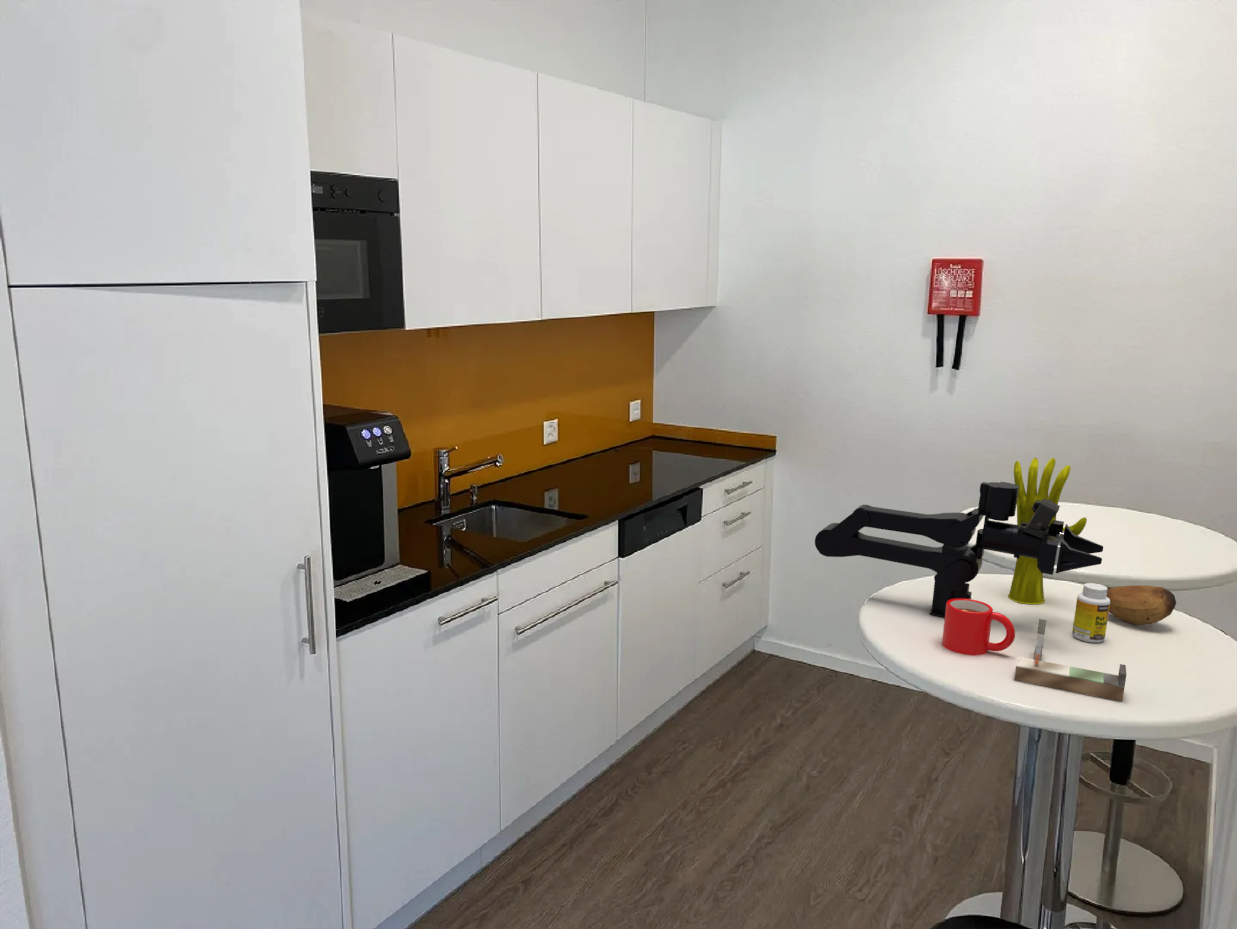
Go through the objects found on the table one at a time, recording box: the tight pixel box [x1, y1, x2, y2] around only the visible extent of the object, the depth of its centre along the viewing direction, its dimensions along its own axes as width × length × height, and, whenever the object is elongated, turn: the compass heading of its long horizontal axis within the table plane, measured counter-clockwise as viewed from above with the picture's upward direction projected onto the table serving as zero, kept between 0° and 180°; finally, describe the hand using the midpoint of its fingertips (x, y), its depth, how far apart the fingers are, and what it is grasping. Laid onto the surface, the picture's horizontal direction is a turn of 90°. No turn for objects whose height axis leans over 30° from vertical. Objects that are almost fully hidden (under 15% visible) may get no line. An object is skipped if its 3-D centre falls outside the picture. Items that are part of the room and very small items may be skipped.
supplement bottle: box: [1071, 582, 1110, 644], centre depth 178 cm, size 6×6×10 cm
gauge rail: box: [1014, 656, 1127, 702], centre depth 156 cm, size 16×4×5 cm, turn 64°
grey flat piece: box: [1033, 618, 1047, 664], centre depth 164 cm, size 1×14×6 cm, turn 154°
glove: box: [1007, 457, 1088, 606], centre depth 196 cm, size 15×8×30 cm, turn 49°
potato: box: [1106, 585, 1177, 627], centre depth 187 cm, size 8×14×8 cm
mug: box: [941, 598, 1016, 656], centre depth 170 cm, size 8×12×8 cm, turn 61°
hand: (1102, 554), depth 175 cm, fingers open, 9 cm apart
